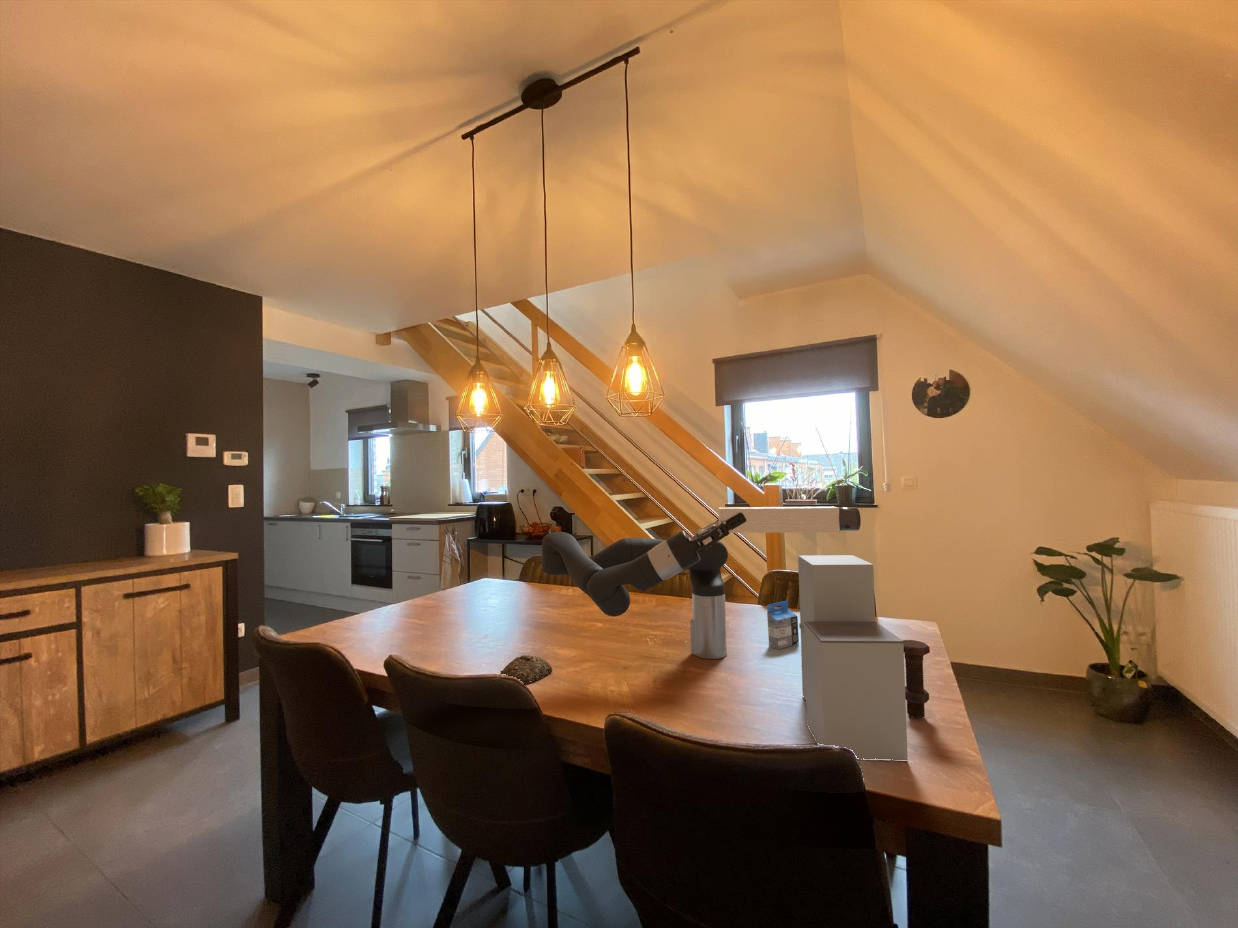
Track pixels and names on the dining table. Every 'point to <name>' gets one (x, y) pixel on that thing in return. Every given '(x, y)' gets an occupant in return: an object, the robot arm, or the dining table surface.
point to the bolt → (915, 677)
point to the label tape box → (782, 626)
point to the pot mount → (850, 660)
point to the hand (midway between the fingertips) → (742, 515)
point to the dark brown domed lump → (527, 668)
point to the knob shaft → (793, 519)
